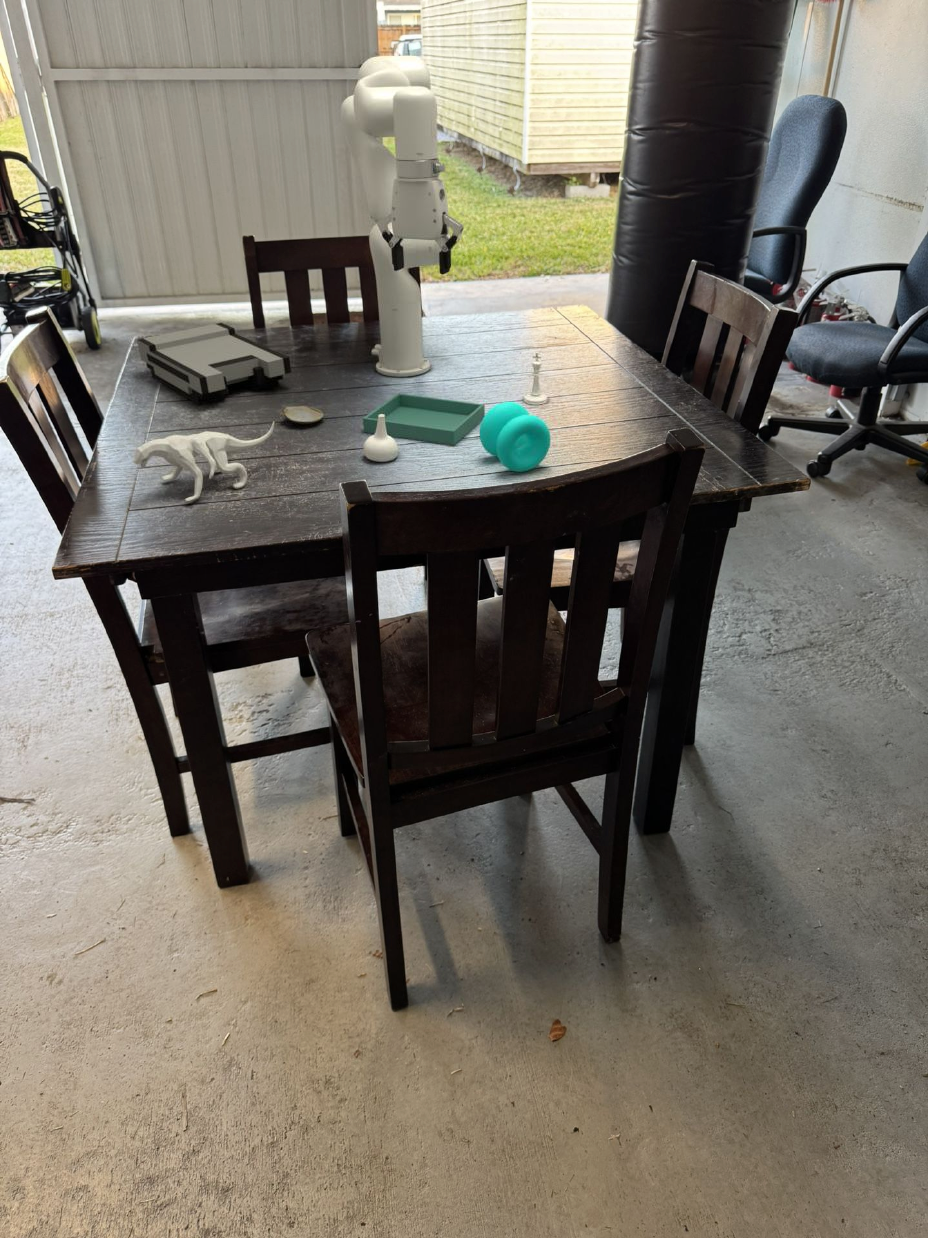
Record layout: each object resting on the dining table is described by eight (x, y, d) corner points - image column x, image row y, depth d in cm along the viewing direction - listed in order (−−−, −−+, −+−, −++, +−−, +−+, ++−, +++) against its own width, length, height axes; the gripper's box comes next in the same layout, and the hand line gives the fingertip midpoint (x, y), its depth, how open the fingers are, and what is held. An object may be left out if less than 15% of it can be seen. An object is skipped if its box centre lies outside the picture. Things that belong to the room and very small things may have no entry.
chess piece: (545, 405, 174) (547, 356, 168) (522, 403, 175) (523, 355, 169) (548, 397, 178) (550, 349, 172) (525, 395, 179) (526, 348, 173)
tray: (363, 431, 163) (362, 418, 162) (399, 406, 175) (398, 393, 173) (454, 445, 157) (453, 431, 155) (484, 417, 169) (484, 404, 167)
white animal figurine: (131, 490, 143) (116, 434, 138) (266, 454, 155) (257, 401, 150) (155, 516, 135) (141, 457, 129) (296, 475, 147) (288, 420, 142)
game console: (205, 411, 174) (197, 372, 170) (145, 375, 195) (136, 339, 190) (293, 388, 185) (288, 351, 180) (227, 356, 206) (221, 322, 201)
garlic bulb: (364, 451, 155) (360, 409, 151) (398, 449, 156) (395, 407, 151) (364, 465, 150) (360, 422, 146) (399, 463, 151) (396, 420, 146)
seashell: (313, 438, 166) (330, 415, 171) (312, 425, 164) (329, 402, 169) (275, 427, 167) (293, 405, 172) (273, 414, 165) (291, 392, 170)
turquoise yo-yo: (500, 479, 144) (501, 423, 139) (476, 457, 152) (476, 404, 146) (552, 468, 148) (554, 413, 142) (526, 448, 155) (527, 395, 150)
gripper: (469, 169, 151) (471, 270, 161) (384, 166, 157) (390, 264, 166) (453, 174, 145) (455, 278, 155) (364, 171, 151) (372, 272, 161)
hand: (421, 270), depth 161 cm, fingers open, 9 cm apart
